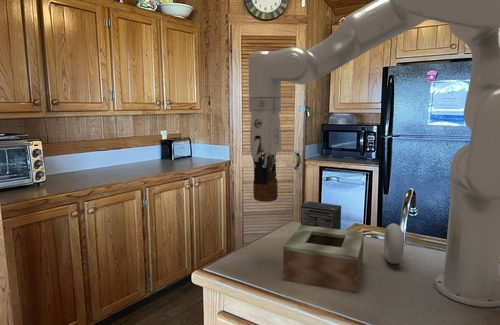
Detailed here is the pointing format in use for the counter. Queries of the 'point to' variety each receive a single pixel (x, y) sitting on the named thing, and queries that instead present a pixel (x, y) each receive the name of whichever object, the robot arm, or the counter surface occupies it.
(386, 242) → the donut
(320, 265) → the drop box
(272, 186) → the utensil holder
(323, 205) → the small box
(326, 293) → the counter surface
